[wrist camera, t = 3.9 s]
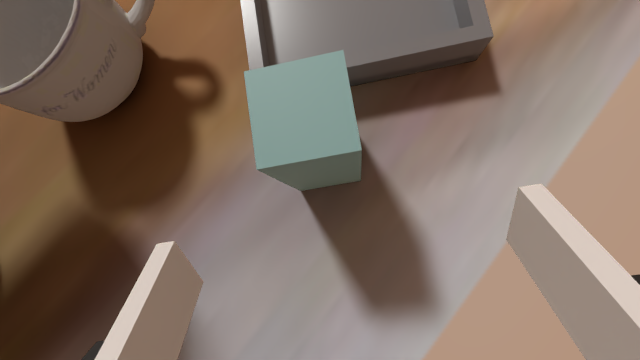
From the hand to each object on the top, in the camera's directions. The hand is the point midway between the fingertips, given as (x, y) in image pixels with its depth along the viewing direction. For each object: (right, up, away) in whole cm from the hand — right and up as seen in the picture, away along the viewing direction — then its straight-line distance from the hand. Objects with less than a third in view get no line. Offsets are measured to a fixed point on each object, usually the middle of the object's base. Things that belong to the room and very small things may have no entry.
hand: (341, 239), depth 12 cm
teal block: (0, +4, +11) cm, 12 cm away
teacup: (-18, +12, +14) cm, 26 cm away
